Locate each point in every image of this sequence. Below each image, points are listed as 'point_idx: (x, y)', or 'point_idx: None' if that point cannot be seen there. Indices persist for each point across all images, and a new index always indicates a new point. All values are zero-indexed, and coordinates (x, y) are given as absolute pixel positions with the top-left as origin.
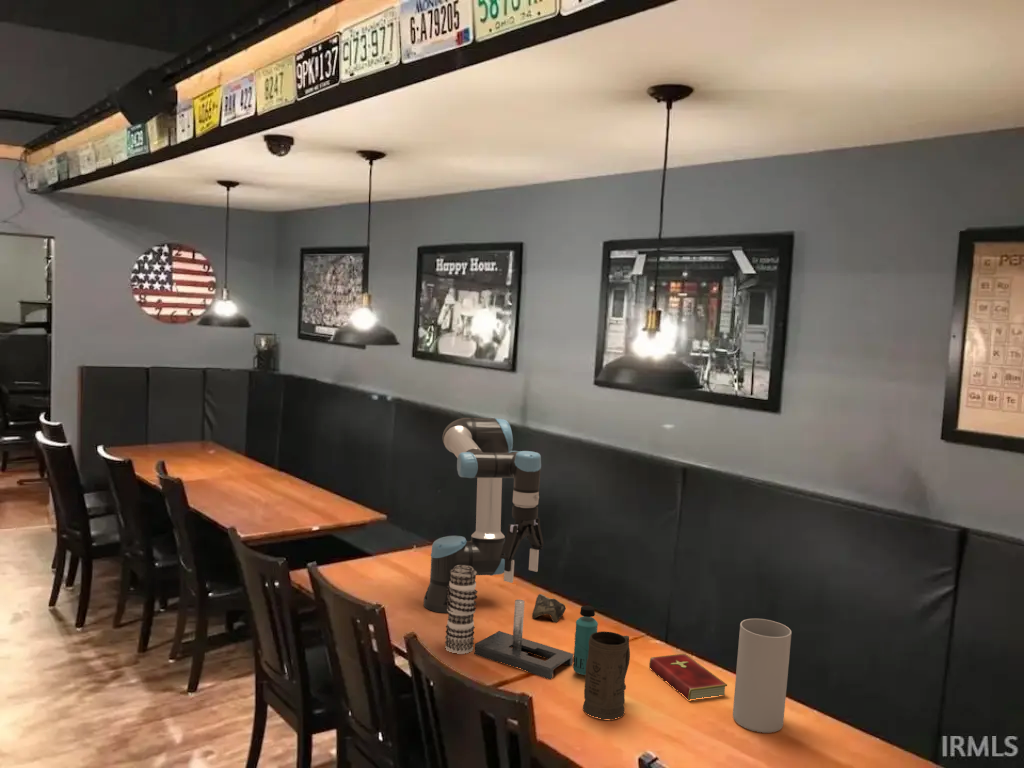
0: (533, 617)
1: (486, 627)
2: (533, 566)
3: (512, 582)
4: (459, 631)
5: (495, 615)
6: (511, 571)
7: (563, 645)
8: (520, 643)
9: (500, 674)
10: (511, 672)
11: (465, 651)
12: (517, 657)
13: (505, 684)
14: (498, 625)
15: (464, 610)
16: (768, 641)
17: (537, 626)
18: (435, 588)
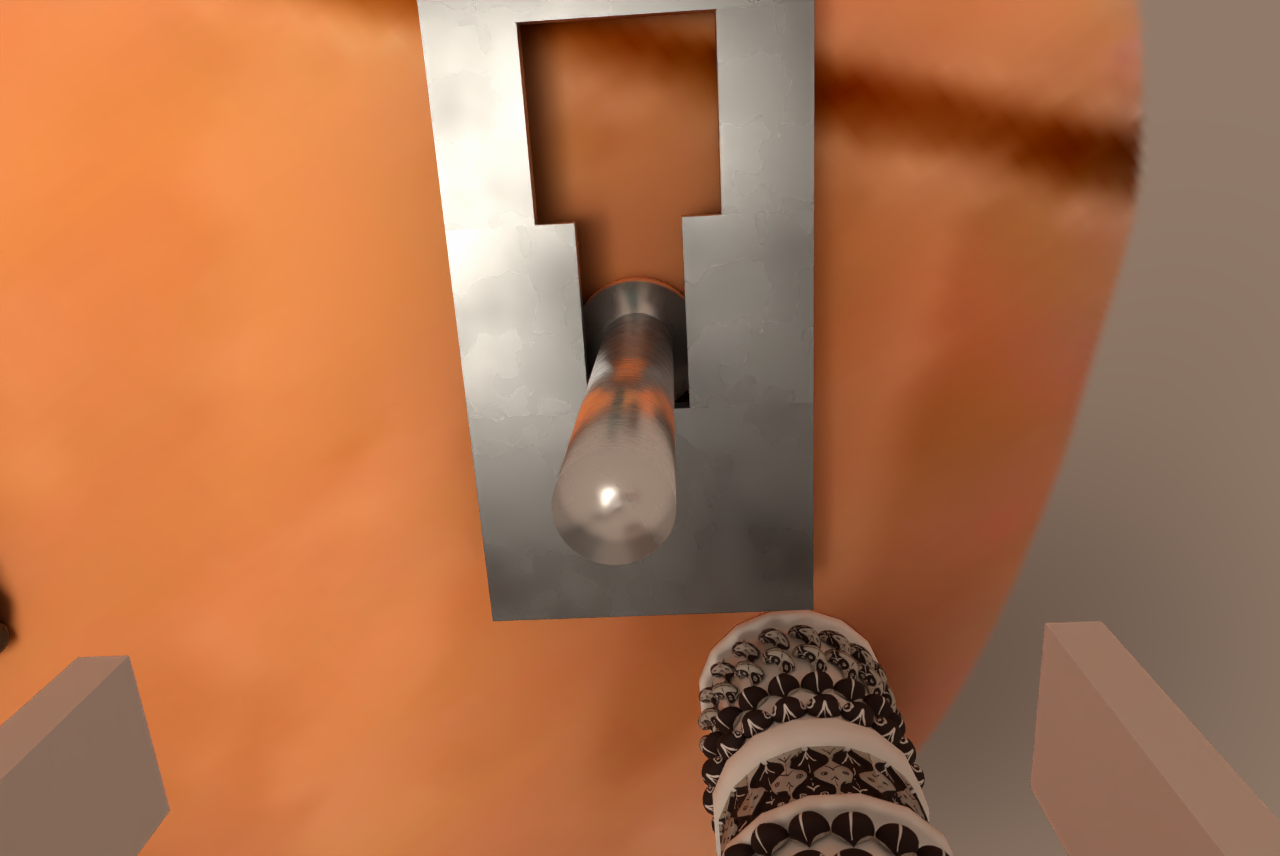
0: (5, 636)
1: (390, 759)
2: (90, 784)
3: (1071, 622)
4: (904, 744)
5: (188, 828)
6: (1248, 809)
7: (196, 198)
8: (642, 332)
9: (963, 252)
10: (884, 212)
11: (827, 628)
12: (812, 232)
13: (1088, 122)
14: (300, 727)
15: (942, 854)
16: None
17: (88, 538)
18: None
